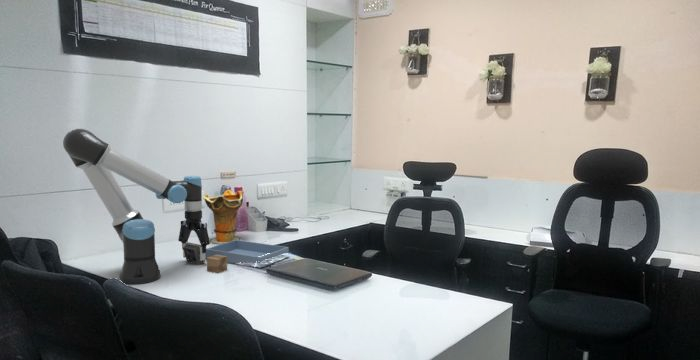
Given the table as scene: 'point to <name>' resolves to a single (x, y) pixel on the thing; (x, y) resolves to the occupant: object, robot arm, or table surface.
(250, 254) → the tray
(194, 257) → the electrical switch
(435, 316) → the table surface
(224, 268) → the walnut cube
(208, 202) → the decorative vase
